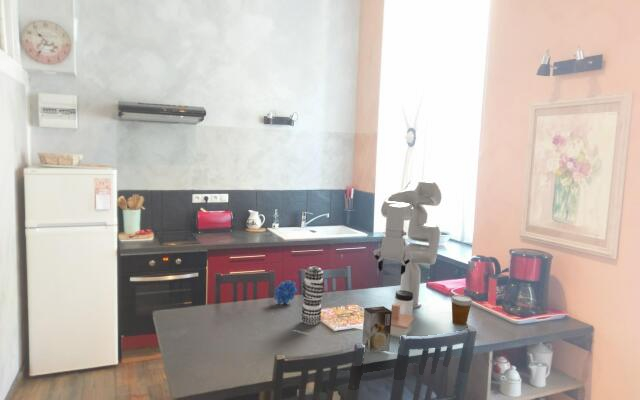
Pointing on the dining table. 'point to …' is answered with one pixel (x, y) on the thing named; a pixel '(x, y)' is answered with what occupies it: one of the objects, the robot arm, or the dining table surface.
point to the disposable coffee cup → (460, 309)
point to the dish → (399, 331)
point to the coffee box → (376, 329)
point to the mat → (357, 327)
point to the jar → (404, 301)
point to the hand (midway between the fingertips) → (391, 271)
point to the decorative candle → (312, 295)
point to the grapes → (285, 292)
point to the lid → (400, 318)
